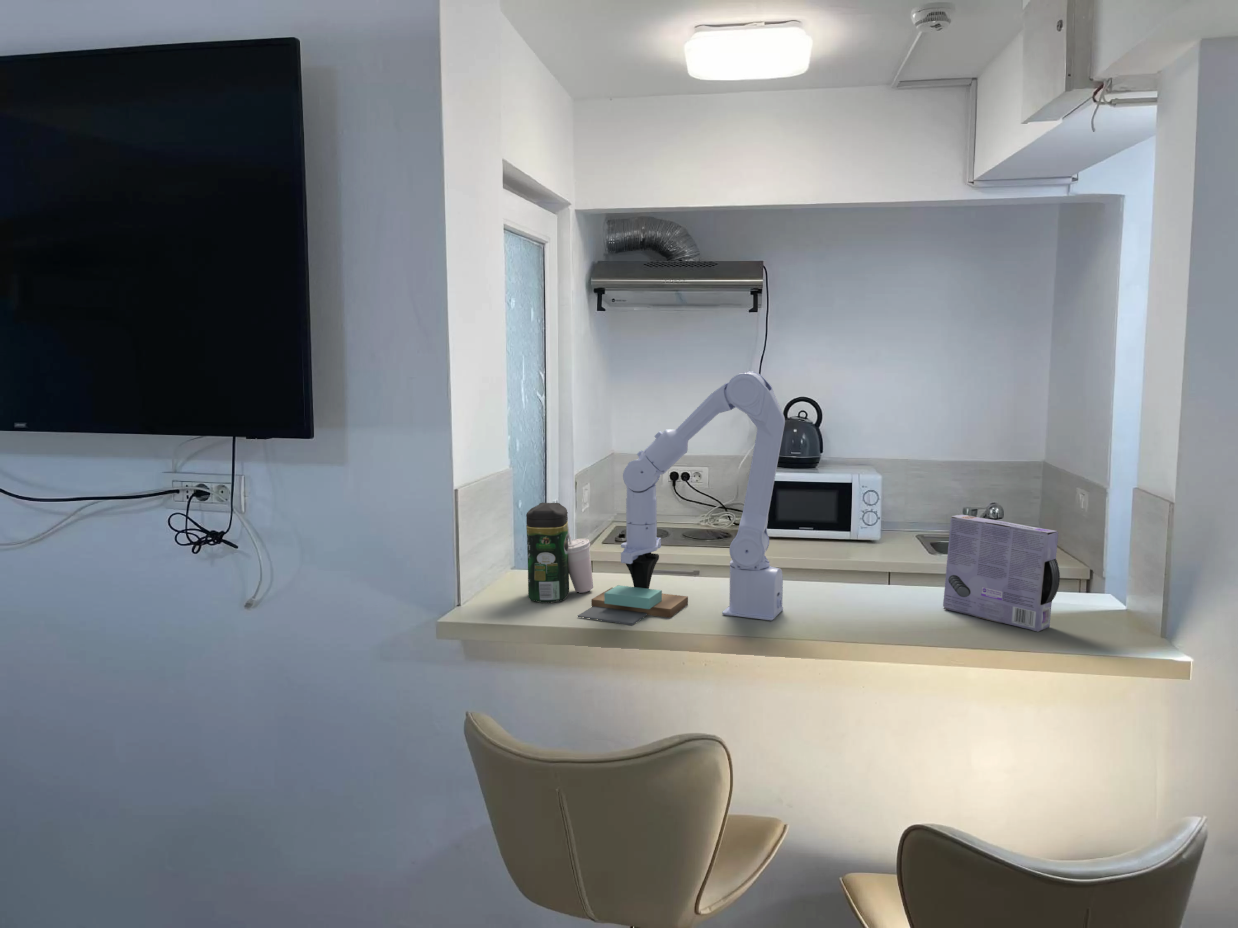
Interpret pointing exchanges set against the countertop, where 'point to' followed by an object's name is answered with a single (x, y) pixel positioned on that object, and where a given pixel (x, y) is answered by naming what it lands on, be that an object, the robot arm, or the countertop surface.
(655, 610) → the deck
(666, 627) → the countertop surface
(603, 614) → the mat
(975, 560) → the cake pan box
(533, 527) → the coffee jar
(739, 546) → the robot arm
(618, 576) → the countertop surface
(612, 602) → the teal rectangular block
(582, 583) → the smoothie
